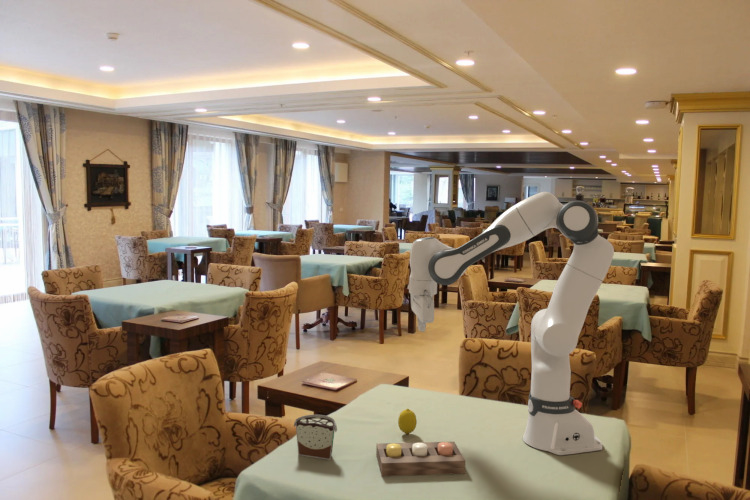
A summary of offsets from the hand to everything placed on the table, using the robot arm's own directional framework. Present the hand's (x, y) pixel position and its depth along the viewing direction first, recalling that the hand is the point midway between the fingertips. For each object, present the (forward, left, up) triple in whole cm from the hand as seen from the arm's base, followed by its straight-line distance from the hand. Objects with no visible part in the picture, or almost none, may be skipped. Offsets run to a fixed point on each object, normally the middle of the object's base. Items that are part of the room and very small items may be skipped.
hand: (421, 330), depth 188 cm
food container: (+33, +23, -29) cm, 50 cm away
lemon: (+6, +12, -29) cm, 32 cm away
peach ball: (-1, +32, -28) cm, 42 cm away
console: (+6, +32, -29) cm, 44 cm away
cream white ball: (+6, +32, -27) cm, 43 cm away
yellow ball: (+13, +32, -27) cm, 44 cm away
